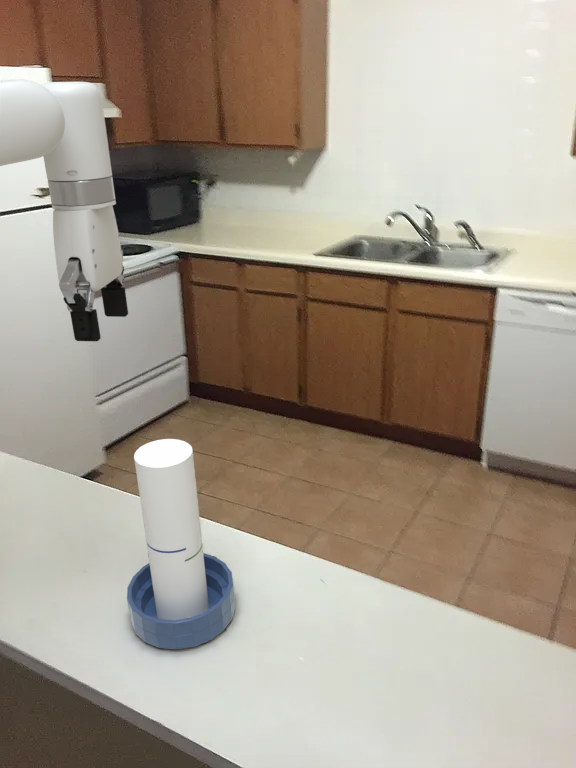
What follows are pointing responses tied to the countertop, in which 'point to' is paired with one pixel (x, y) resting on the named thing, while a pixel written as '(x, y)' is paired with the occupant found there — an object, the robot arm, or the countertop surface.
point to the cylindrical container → (172, 527)
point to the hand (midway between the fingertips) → (103, 327)
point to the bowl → (187, 629)
